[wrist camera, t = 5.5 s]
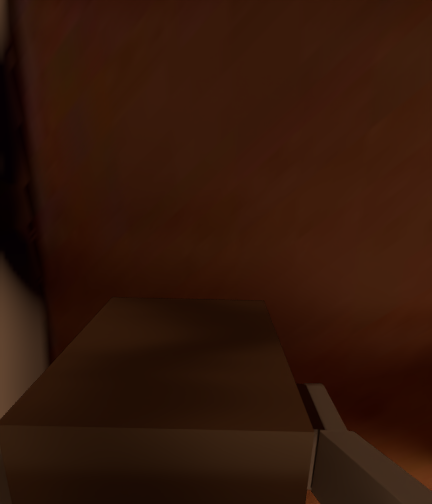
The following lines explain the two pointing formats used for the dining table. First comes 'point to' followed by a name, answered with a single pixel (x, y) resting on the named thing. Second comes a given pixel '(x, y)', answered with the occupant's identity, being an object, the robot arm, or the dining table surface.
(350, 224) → the dining table surface
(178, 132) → the dining table surface
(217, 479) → the walnut block
